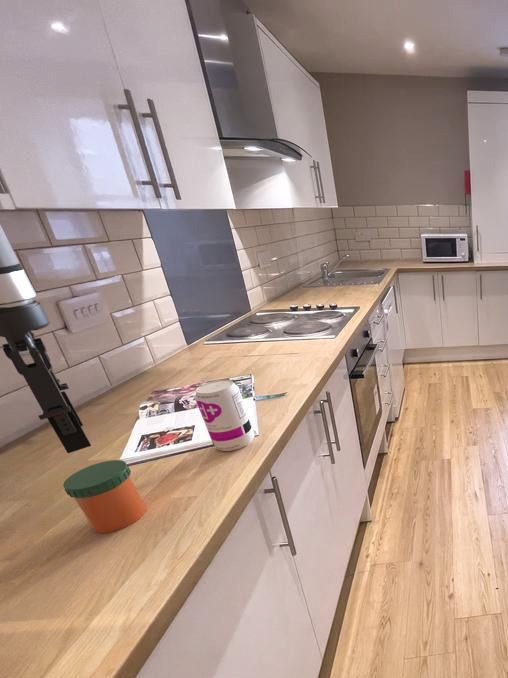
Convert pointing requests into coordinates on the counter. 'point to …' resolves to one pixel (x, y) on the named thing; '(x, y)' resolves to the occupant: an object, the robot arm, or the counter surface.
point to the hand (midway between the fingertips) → (75, 437)
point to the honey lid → (97, 479)
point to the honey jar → (113, 508)
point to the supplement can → (224, 415)
